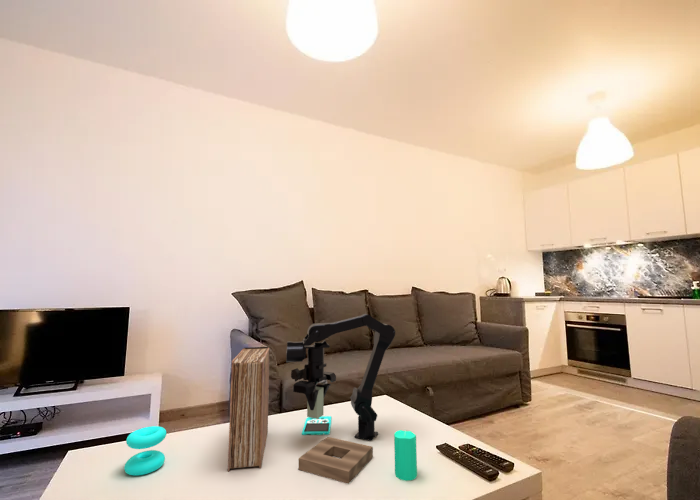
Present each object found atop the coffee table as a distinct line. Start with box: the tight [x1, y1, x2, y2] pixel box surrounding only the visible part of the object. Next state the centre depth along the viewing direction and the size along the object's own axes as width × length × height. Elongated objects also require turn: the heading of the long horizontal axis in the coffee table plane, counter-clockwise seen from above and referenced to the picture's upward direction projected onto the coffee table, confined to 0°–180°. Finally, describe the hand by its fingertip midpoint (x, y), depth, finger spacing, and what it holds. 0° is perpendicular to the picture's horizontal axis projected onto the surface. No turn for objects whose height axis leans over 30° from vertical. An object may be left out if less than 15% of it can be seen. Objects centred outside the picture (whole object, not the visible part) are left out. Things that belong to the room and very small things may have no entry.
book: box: [227, 346, 270, 472], centre depth 109 cm, size 25×9×30 cm, turn 9°
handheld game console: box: [301, 415, 332, 436], centre depth 126 cm, size 10×16×1 cm, turn 1°
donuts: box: [123, 425, 167, 476], centre depth 97 cm, size 10×10×10 cm
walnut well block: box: [298, 436, 374, 485], centre depth 99 cm, size 16×16×3 cm
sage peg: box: [306, 387, 325, 419], centre depth 115 cm, size 4×4×9 cm
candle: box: [393, 429, 418, 482], centre depth 93 cm, size 6×6×12 cm
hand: (315, 408), depth 115 cm, fingers closed on sage peg, 4 cm apart
